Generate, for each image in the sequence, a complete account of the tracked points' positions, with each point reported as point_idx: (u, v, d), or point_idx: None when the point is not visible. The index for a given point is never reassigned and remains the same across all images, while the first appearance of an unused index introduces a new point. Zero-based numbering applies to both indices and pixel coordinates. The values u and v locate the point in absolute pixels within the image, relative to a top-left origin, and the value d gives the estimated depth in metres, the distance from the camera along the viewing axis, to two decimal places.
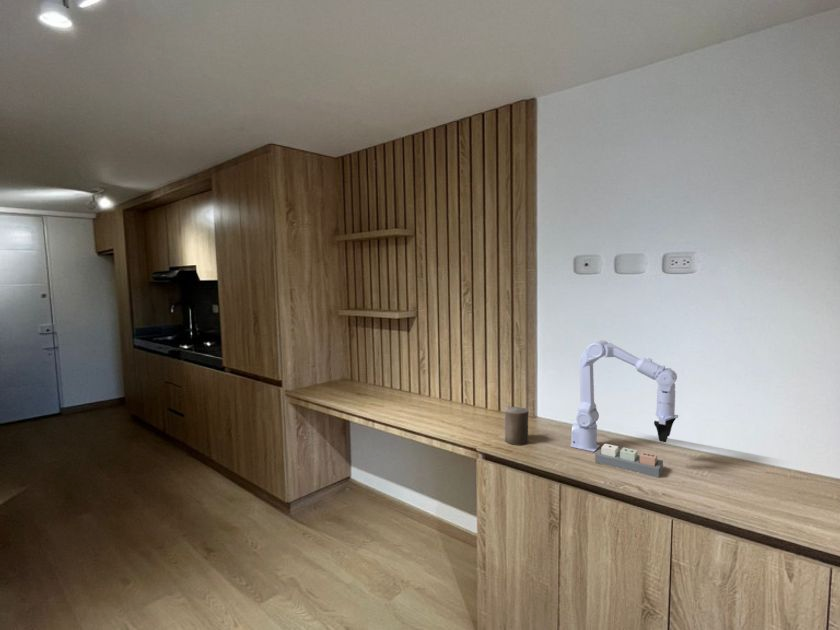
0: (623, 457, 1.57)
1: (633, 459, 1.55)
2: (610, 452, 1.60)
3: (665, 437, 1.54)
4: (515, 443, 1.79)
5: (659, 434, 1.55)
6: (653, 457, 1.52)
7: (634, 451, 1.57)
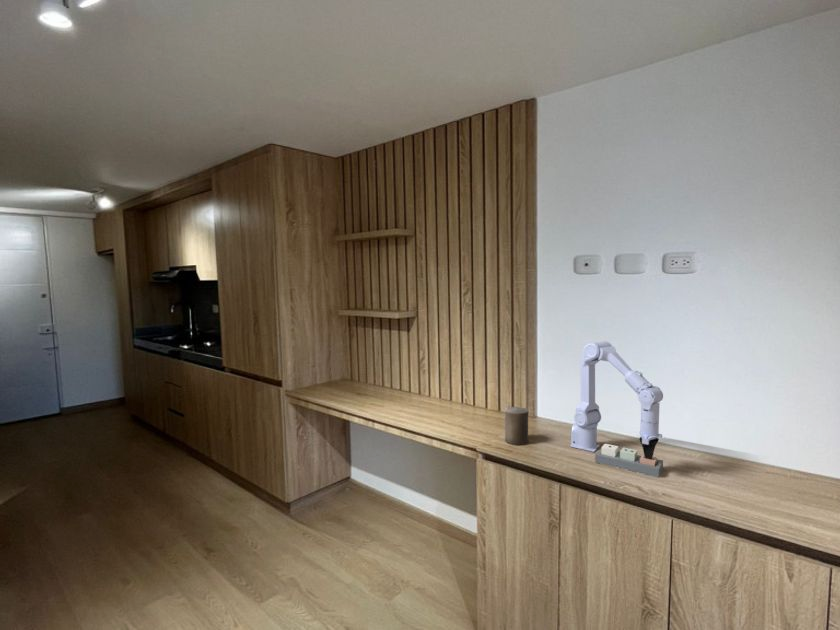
0: (623, 457, 1.57)
1: (633, 459, 1.55)
2: (610, 452, 1.60)
3: (650, 454, 1.53)
4: (515, 443, 1.79)
5: (645, 451, 1.54)
6: (653, 460, 1.52)
7: (634, 451, 1.57)
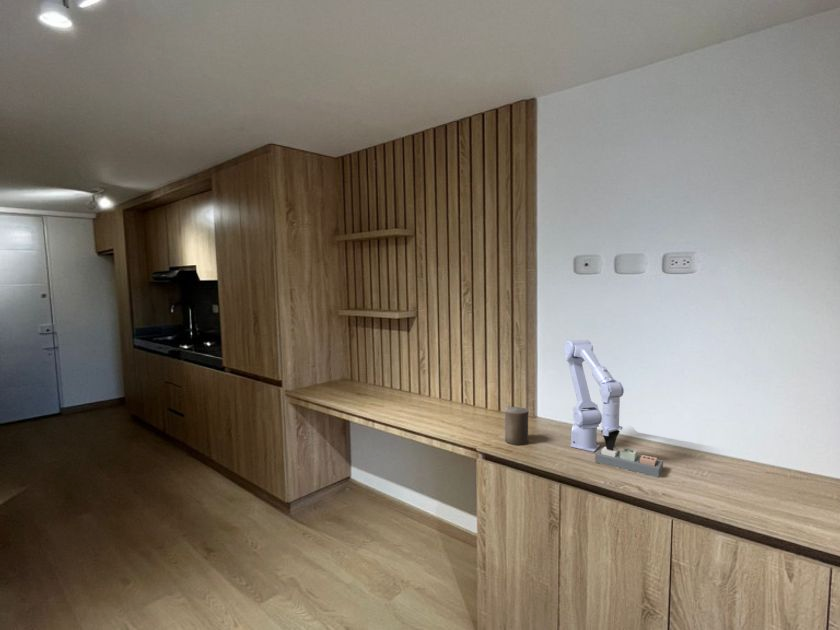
0: (623, 457, 1.57)
1: (633, 459, 1.55)
2: (609, 454, 1.60)
3: (612, 445, 1.61)
4: (515, 443, 1.79)
5: (606, 442, 1.62)
6: (653, 460, 1.52)
7: (634, 451, 1.57)
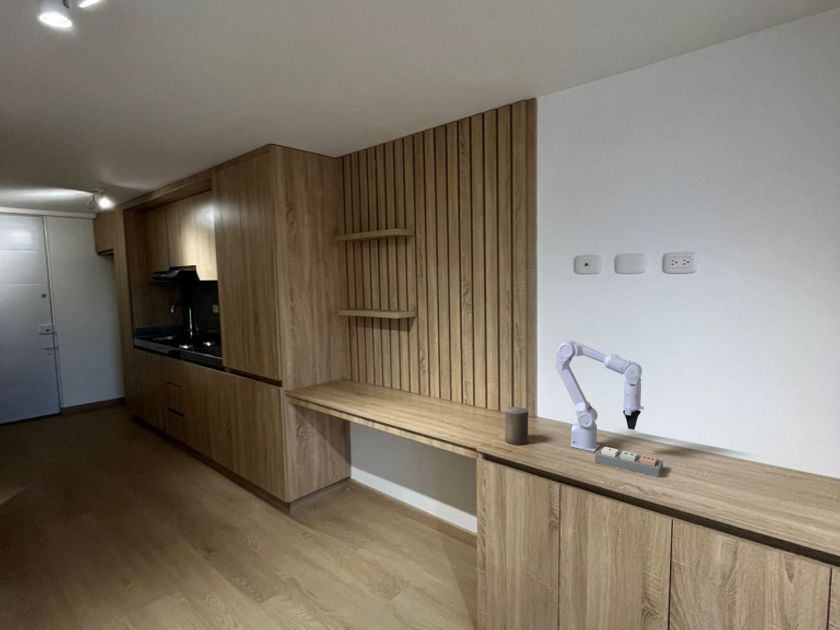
0: None
1: None
2: (609, 455, 1.60)
3: (633, 425, 1.66)
4: (515, 443, 1.79)
5: (628, 422, 1.67)
6: (653, 460, 1.52)
7: (634, 454, 1.57)
